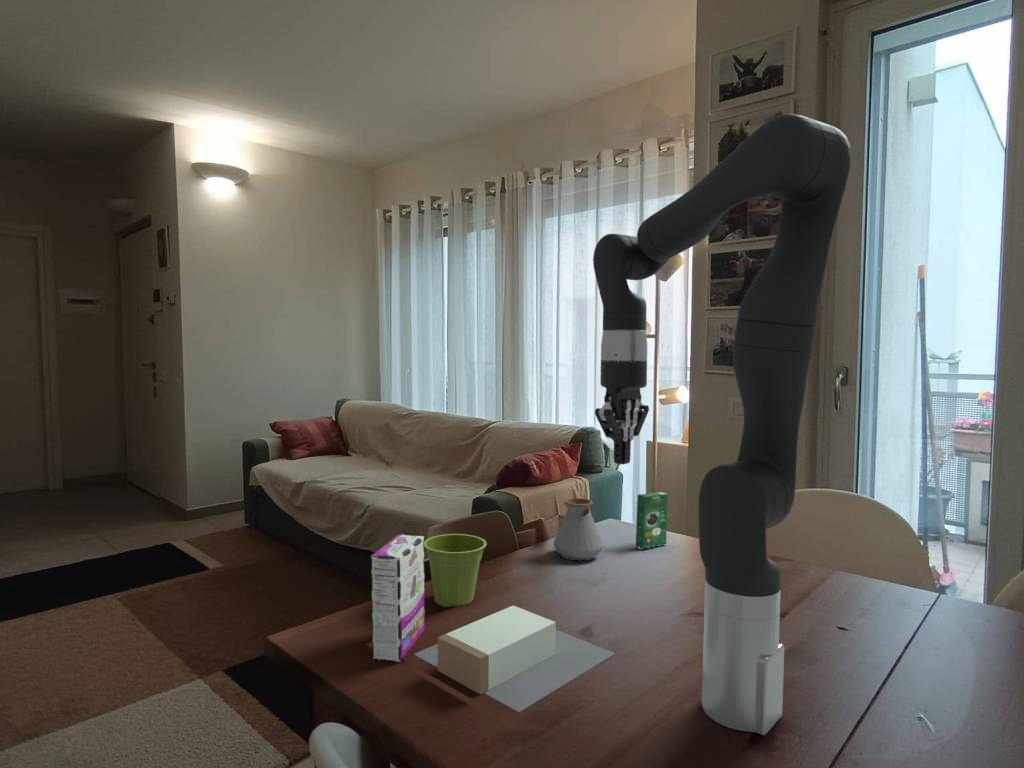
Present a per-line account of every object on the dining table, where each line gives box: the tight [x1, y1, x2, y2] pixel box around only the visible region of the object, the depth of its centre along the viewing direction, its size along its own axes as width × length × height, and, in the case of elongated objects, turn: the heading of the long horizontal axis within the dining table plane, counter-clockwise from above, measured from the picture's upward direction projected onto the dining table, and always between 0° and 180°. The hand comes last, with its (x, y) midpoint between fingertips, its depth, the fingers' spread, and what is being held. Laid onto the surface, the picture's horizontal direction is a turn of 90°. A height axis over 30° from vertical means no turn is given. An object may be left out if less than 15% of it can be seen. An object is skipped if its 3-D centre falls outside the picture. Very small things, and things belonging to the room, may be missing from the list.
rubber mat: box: [413, 629, 616, 713], centre depth 96 cm, size 22×22×1 cm
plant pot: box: [424, 533, 487, 608], centre depth 117 cm, size 12×12×11 cm
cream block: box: [437, 605, 557, 696], centre depth 93 cm, size 9×5×16 cm
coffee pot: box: [553, 497, 604, 562], centre depth 139 cm, size 21×12×15 cm, turn 0°
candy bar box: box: [370, 534, 426, 663], centre depth 99 cm, size 11×5×16 cm, turn 168°
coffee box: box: [635, 491, 669, 550], centre depth 151 cm, size 8×3×13 cm, turn 122°
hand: (622, 463), depth 102 cm, fingers closed
